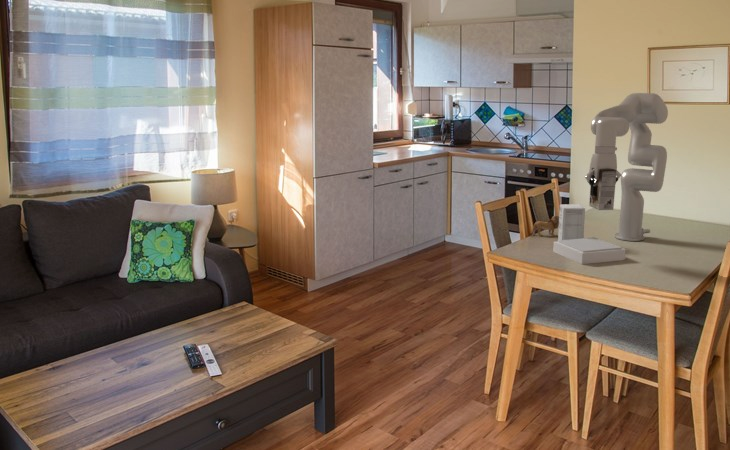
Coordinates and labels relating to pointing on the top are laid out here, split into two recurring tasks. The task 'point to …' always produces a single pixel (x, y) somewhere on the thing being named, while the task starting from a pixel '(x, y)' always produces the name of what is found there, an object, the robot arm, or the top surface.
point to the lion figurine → (546, 226)
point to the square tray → (589, 250)
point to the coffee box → (604, 190)
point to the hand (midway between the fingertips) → (601, 194)
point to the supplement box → (571, 221)
